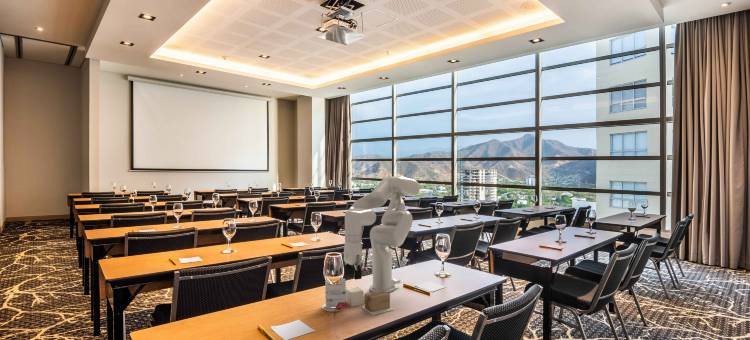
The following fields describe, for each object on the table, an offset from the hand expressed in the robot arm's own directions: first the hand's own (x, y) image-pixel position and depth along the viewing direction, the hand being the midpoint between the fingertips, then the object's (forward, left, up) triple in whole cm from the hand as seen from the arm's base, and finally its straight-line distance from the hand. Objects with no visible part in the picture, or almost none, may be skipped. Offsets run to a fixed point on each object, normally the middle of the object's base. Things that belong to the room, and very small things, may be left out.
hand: (353, 276), depth 178 cm
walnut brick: (-6, +12, -12) cm, 17 cm away
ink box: (+8, 0, -12) cm, 15 cm away
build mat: (-6, +12, -12) cm, 18 cm away
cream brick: (-1, 0, -12) cm, 12 cm away
